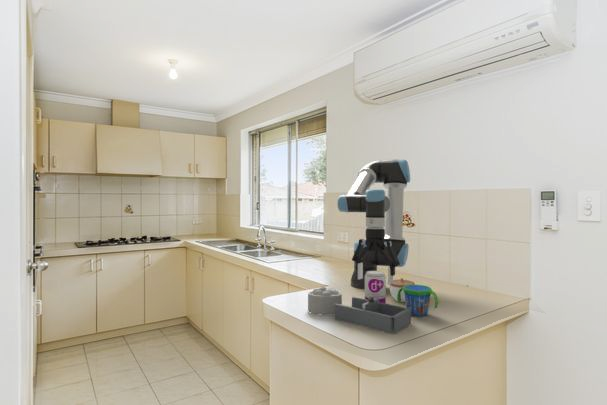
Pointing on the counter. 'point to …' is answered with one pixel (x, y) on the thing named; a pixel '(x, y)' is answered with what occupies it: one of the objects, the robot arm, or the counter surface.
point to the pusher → (371, 305)
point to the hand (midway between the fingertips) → (374, 281)
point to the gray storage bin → (375, 316)
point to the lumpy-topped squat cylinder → (323, 300)
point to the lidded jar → (397, 286)
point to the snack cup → (418, 298)
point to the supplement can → (375, 285)
